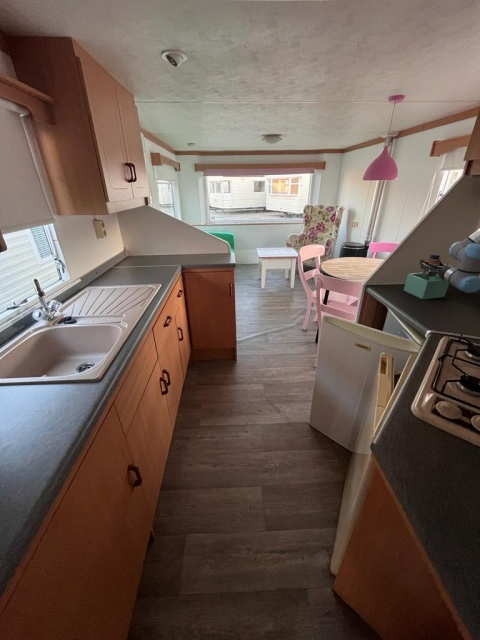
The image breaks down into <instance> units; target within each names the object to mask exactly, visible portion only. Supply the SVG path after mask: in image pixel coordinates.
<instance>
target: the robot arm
mask: <svg viewBox="0 0 480 640" xmlns="http://www.w3.org/2000/svg"><path fill="white" fill-rule="evenodd" d="M448 253H449V255H450V257H451V258H452V259H453V260H456V261H457V262H459V266H455V265H453V264H451V263H450V262H448V263H445V262H442V261H440V264H439V266H435V265H432V264H429V263H428V262H427V260H424V259H423V258H422V259H420V262H419V265H420V269H422V270H423V271H424V270H425V271H427V272H428V273H432V272H434V273H436V274H437V275H439V277H440V278H441V279H442V280H444V281H446V282H448V283H449V285H451V287H454V288H456V289H458V290H459V291H461V292H463V293H466V294H474V293H476V292H478V291H479V290H480V228H479V229H477V230H476V231H474V232H473V233H472V234H470V235H469V236H468V237H466V238H465V239H463V240H462V241H456V242H454V243H453V244H452V245H450V247H449V249H448Z"/></svg>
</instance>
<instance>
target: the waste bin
mask: <svg viewBox="0 0 480 640" xmlns="http://www.w3.org/2000/svg"><path fill="white" fill-rule="evenodd" d="M449 285H450V284H449V283H448V282H446V281H444V280H442V279H441V278H440V277H439V274H437V273H436V276H434V277H428V276H424V275H423V272H414V273H413V272H412V273H408V274H407V275H406V280H405V284H404V288H403V291H404V292H406V293H407V294H411V295H412V296H415V297H417V298H419V299H421V300H428V299H437V298H445V297H446V294H447V290H448V288H449Z"/></svg>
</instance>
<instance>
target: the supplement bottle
mask: <svg viewBox="0 0 480 640" xmlns="http://www.w3.org/2000/svg"><path fill="white" fill-rule="evenodd" d="M440 257H441V254H440V253H431V254H430V255H429V257H427V259H426V261H427V262H428V263H429V264H432V265H435V266H439V264H440V262H442V261H441V259H440ZM422 273H423V275H424V276H428V277H434V276H436V274H437V273H434V272H432V273H428V272H427V271H425V270H423V271H422Z"/></svg>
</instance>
